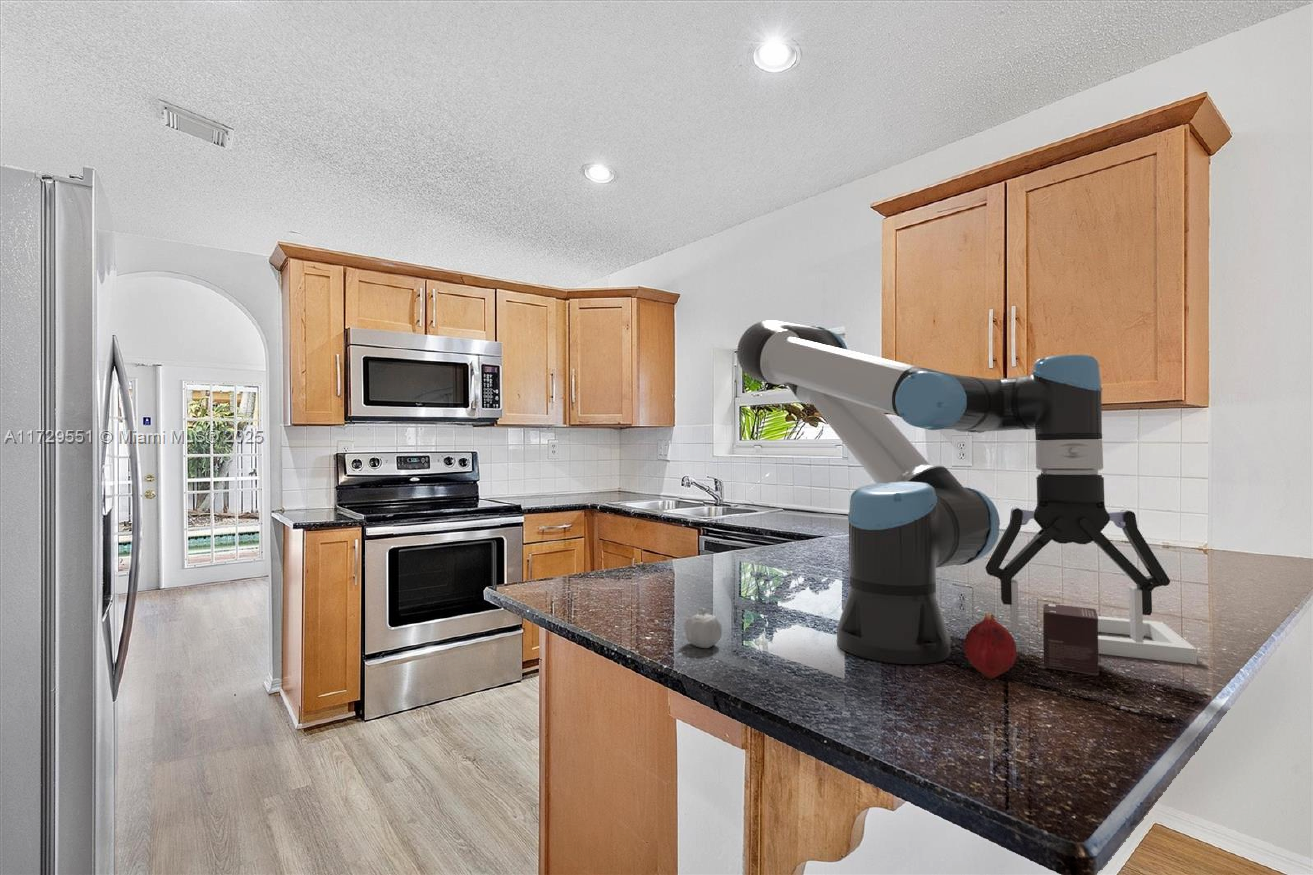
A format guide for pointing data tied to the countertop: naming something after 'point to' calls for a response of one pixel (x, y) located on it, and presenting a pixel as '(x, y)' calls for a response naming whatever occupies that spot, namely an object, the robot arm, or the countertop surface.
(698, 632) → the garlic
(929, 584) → the robot arm
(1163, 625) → the hole plate
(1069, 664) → the box
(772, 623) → the countertop surface
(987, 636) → the onion
